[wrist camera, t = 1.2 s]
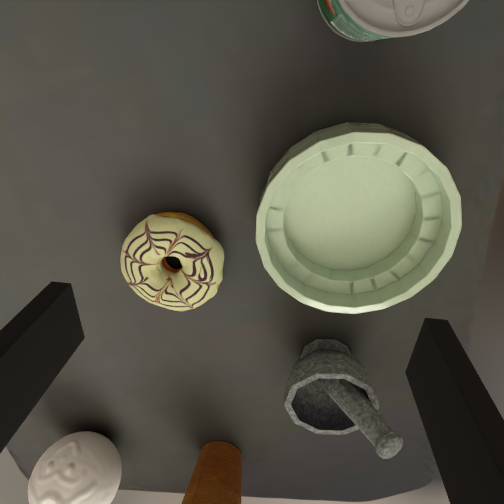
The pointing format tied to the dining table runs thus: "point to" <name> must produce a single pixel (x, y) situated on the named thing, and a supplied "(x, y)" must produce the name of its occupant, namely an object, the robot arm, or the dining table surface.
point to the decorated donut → (178, 245)
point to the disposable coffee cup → (216, 476)
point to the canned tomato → (385, 17)
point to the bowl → (357, 218)
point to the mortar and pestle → (337, 396)
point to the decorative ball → (77, 471)
